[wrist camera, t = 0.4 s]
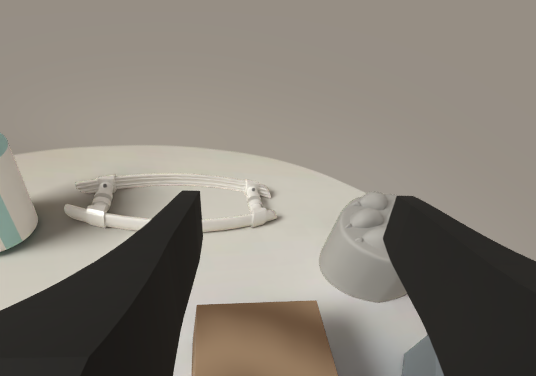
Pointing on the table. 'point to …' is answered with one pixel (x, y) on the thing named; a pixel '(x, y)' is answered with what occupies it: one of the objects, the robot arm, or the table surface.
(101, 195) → the white oval frame
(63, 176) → the table surface
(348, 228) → the grey paw shaped block
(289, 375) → the walnut cabinet
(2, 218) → the can
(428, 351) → the cabinet door
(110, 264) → the robot arm
